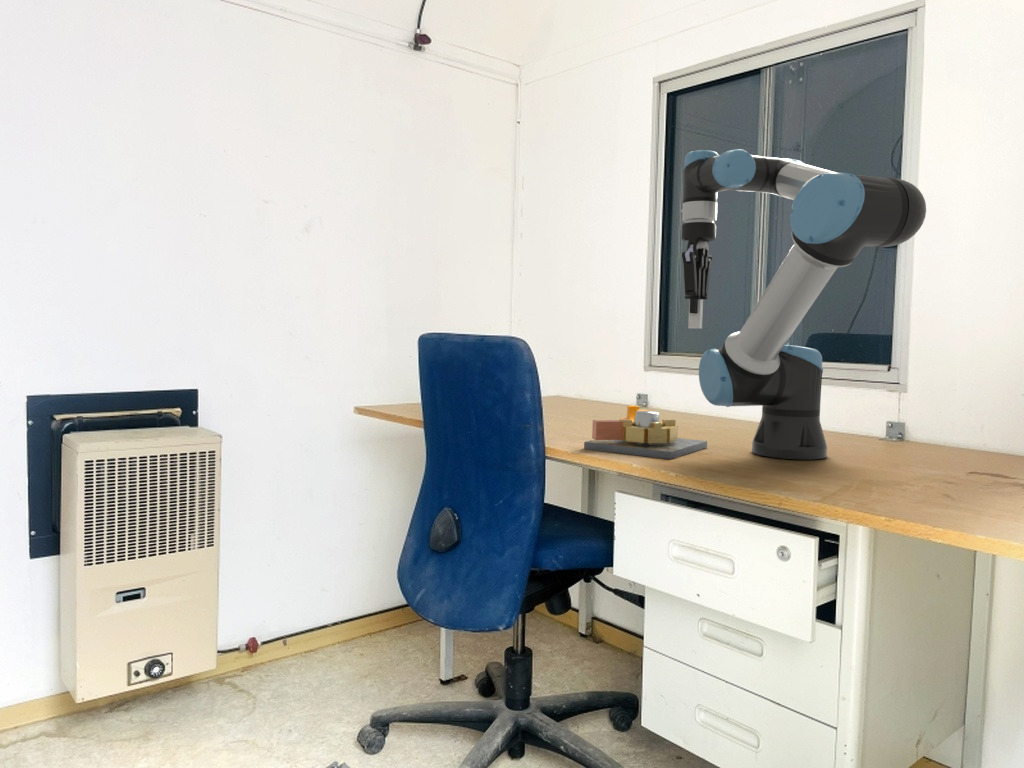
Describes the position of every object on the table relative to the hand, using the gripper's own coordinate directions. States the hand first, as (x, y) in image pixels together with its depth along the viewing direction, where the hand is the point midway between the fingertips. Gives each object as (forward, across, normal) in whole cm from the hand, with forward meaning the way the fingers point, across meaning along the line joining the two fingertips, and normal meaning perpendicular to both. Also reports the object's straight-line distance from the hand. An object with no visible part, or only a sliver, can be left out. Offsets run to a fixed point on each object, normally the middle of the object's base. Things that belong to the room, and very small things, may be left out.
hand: (695, 328), depth 182 cm
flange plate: (+26, +13, -5) cm, 30 cm away
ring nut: (+24, +15, -7) cm, 29 cm away
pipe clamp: (+27, -8, -18) cm, 33 cm away
